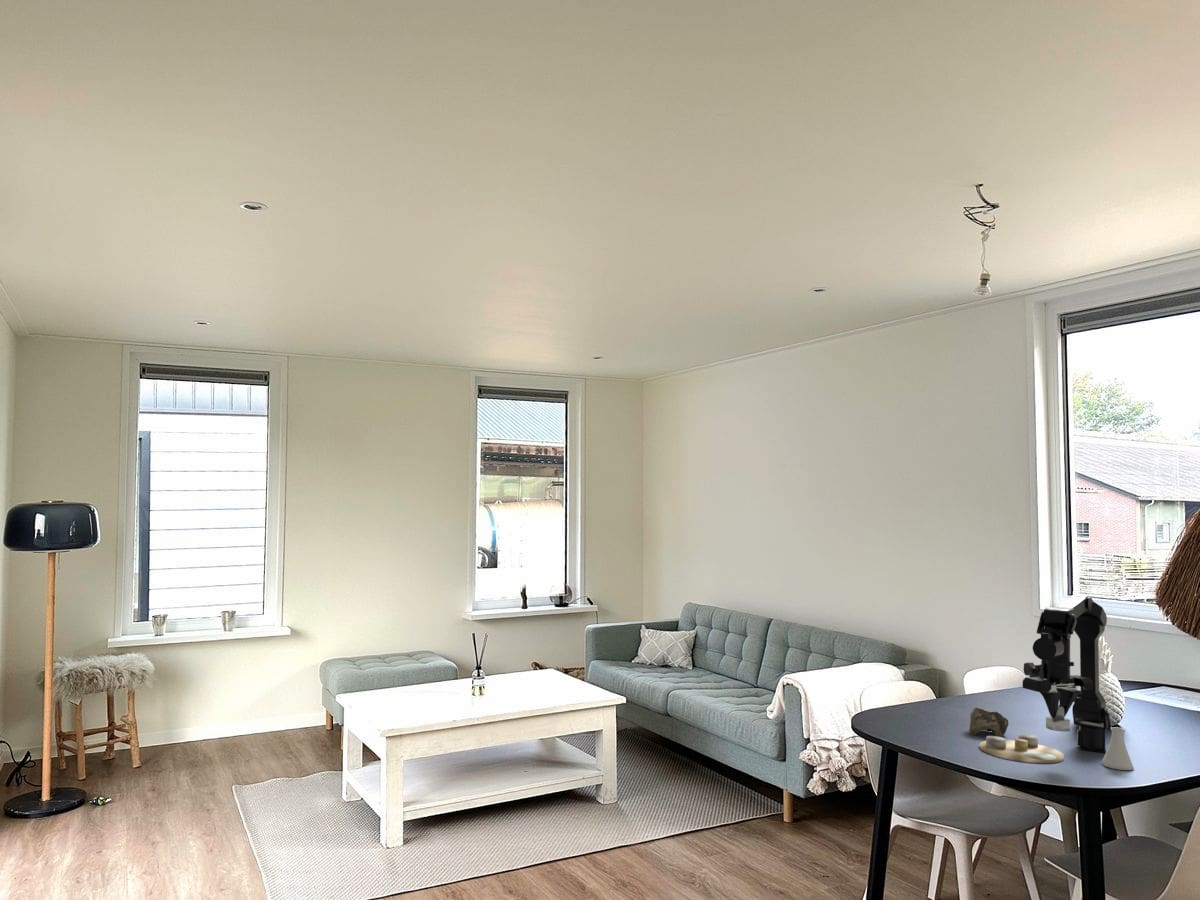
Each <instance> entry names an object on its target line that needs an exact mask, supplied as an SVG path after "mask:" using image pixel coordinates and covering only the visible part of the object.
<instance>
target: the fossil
mask: <svg viewBox="0 0 1200 900" xmlns="http://www.w3.org/2000/svg"><path fill="white" fill-rule="evenodd" d="M1008 727H1009V720H1008V718H1007V717H1005V716H1003V715H1002V714H1001V713H999V712H998V711H997V710H996V711H994V710H993V711H989V710H986V709H984V708H982V707H974V708H973V709H972V711H971V712H970V723H969V729H968V731H969V733H970V734H971V735H972V736H975V735H976V734H978V733H979V732H982V731H984V730H987V731H992V732H994V736H997V737H1002V738H1004V736H1005V734H1006V732H1007V729H1008ZM992 732H991V733H992Z"/></svg>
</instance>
